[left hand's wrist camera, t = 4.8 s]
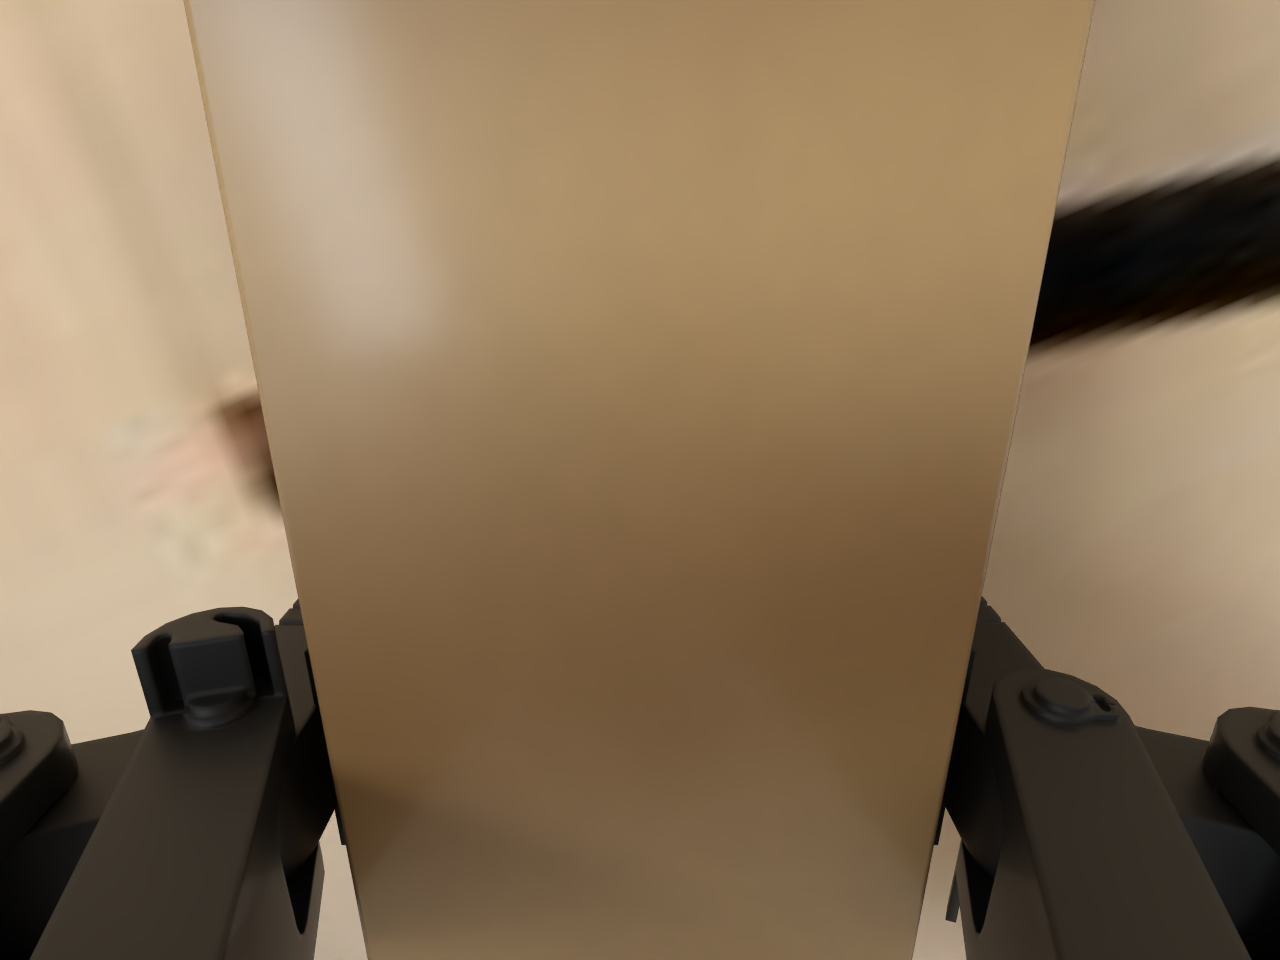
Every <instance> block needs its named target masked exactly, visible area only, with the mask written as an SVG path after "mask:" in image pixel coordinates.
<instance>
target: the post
mask: <svg viewBox="0 0 1280 960" xmlns="http://www.w3.org/2000/svg"><path fill="white" fill-rule="evenodd" d="M1094 4H1095V0H184V5H185V10H186V16H187V21H188V26H189V31H190V36H191V42H192V47H193V52H194V57H195V62H196V68H197V73H198V78H199V83H200V88H201V94H202V99H203V104H204V109H205V114H206V120H207V125H208V130H209V135H210V140H211V146H212V151H213V156H214V161H215V166H216V172H217V177H218V182H219V187H220V192H221V198H222V203H223V208H224V213H225V218H226V224H227V229H228V234H229V239H230V244H231V250H232V255H233V260H234V265H235V270H236V276H237V281H238V286H239V291H240V296H241V302H242V307H243V312H244V317H245V322H246V328H247V333H248V338H249V343H250V348H251V354H252V359H253V364H254V369H255V374H256V380H257V385H258V390H259V395H260V400H261V406H262V411H263V416H264V421H265V426H266V432H267V437H268V442H269V447H270V453H271V458H272V463H273V468H274V473H275V479H276V484H277V489H278V494H279V499H280V505H281V510H282V515H283V520H284V525H285V531H286V536H287V541H288V546H289V551H290V557H291V562H292V567H293V572H294V577H295V583H296V588H297V593H298V598H299V603H300V609H301V614H302V619H303V624H304V629H305V635H306V640H307V645H308V650H309V655H310V661H311V666H312V671H313V676H314V681H315V687H316V692H317V697H318V702H319V707H320V713H321V718H322V723H323V728H324V733H325V739H326V744H327V749H328V754H329V759H330V765H331V770H332V775H333V780H334V785H335V791H336V796H337V801H338V806H339V811H340V817H341V822H342V827H343V832H344V837H345V843H346V848H347V853H348V858H349V863H350V869H351V874H352V879H353V884H354V889H355V895H356V900H357V905H358V910H359V915H360V921H361V926H362V931H363V936H364V941H365V947H366V952H367V957H368V960H912V956H913V951H914V946H915V940H916V935H917V930H918V925H919V920H920V914H921V909H922V904H923V899H924V893H925V888H926V883H927V878H928V872H929V867H930V862H931V857H932V852H933V846H934V841H935V836H936V831H937V825H938V820H939V815H940V810H941V804H942V799H943V794H944V789H945V783H946V778H947V773H948V768H949V763H950V757H951V752H952V747H953V742H954V736H955V731H956V726H957V721H958V715H959V710H960V705H961V700H962V695H963V689H964V684H965V679H966V674H967V668H968V663H969V658H970V653H971V647H972V642H973V637H974V632H975V627H976V621H977V616H978V611H979V606H980V600H981V595H982V590H983V585H984V579H985V574H986V569H987V564H988V559H989V553H990V548H991V543H992V538H993V532H994V527H995V522H996V517H997V511H998V506H999V501H1000V496H1001V490H1002V485H1003V480H1004V475H1005V470H1006V464H1007V459H1008V454H1009V449H1010V443H1011V438H1012V433H1013V428H1014V422H1015V417H1016V412H1017V407H1018V402H1019V396H1020V391H1021V386H1022V381H1023V375H1024V370H1025V365H1026V360H1027V354H1028V349H1029V344H1030V339H1031V334H1032V328H1033V323H1034V318H1035V313H1036V307H1037V302H1038V297H1039V292H1040V286H1041V281H1042V276H1043V271H1044V266H1045V260H1046V255H1047V250H1048V245H1049V239H1050V234H1051V229H1052V224H1053V218H1054V213H1055V208H1056V203H1057V197H1058V192H1059V187H1060V182H1061V177H1062V171H1063V166H1064V161H1065V156H1066V150H1067V145H1068V140H1069V135H1070V129H1071V124H1072V119H1073V114H1074V109H1075V103H1076V98H1077V93H1078V88H1079V82H1080V77H1081V72H1082V67H1083V61H1084V56H1085V51H1086V46H1087V41H1088V35H1089V30H1090V25H1091V20H1092V14H1093V9H1094Z"/></svg>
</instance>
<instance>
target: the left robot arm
mask: <svg viewBox="0 0 1280 960" xmlns="http://www.w3.org/2000/svg"><path fill="white" fill-rule="evenodd" d="M131 652H132V655H133V658H134V662H135V665H136V669H137V672H138V675H139V679H140V682H141V686H142V689H143V692H144V696H145V699H146V703H147V706H148V709H149V713H150V716H151V718H150V720H149V722H148V724H147V726H146V728H145V729H144V730H140V731H136V732H132V733H127V734H122V735H117V736H112V737H107V738H102V739H97V740H92V741H87V742H82V743H77V744H72V745H71V743H70V740H69V737H68V734H67V732H66V729H65V726H64V723H63V721H62V720H61V719H59V718H58V717H57V716H55V715H54V714H52V713H50V712H41V711H32V710H29V711H22V712H14V713H7V714H0V960H314V952H315V944H316V936H317V928H318V921H319V913H320V905H321V897H322V889H323V881H324V873H325V872H324V865H323V858H322V853H321V848H320V843H319V840H320V838H321V836H322V834H323V832H324V830H325V828H326V826H327V824H328V822H329V820H330V818H331V816H332V814H333V812H334V810H335V814H336V819H337V824H338V829H339V834H340V839H341V845H346V843H345V837H344V832H343V827H342V822H341V817H340V811H339V806H338V801H337V796H336V791H335V785H334V780H333V775H332V770H331V765H330V759H329V754H328V749H327V744H326V739H325V733H324V728H323V723H322V718H321V713H320V707H319V702H318V697H317V692H316V687H315V681H314V676H313V671H312V666H311V661H310V655H309V650H308V645H307V640H306V635H305V629H304V624H303V619H302V614H301V609H300V603H299V598H298V600H297V601H296V602H295V603H294V604H293V609H289V610H288V611H287V612H286V614H285V615H284V616H283V617H282V618H281V619H280V621H279V625H275V626H274V623H273V618H271V617H270V616H269V615H267V614H266V613H265V612H263V611H262V610H257V609H252V608H247V607H228V608H216V609H212V610H207V611H202V612H197V613H193V614H190V615H187V616H185V617H182V618H179V619H177V620H174V621H171V622H169V623H166V624H165V625H163V626H161V627H159V628H158V629H156V630H154V631H153V632H151V633H149V634H148V635H146V636H145V637H144V638H143V639H142V640H141V641H140V642H139V643H138V644H137V645H136V646H135V647H134V648H133V649H132V650H131ZM945 807H946V809H947V811H948V813H949V815H950V817H951V819H952V821H953V823H954V825H955V827H956V829H957V830H958V832H959V834H960V836H961V843H960V848H959V853H958V857H957V862H956V867H955V872H954V877H953V881H952V886H951V891H950V896H949V901H948V906H947V913H946V920H948V921H952V922H956V919H957V914H958V910H959V906H960V911H961V919H962V927H963V934H964V942H965V950H966V958H967V960H1280V710H1270V709H1263V708H1255V707H1245V708H1236V709H1229V710H1228V711H1226V712H1225V713H1223V714H1222V715H1221V716H1219V717H1218V718H1217V721H1216V724H1215V727H1214V730H1213V733H1212V736H1211V738H1210V741H1205V740H1200V739H1195V738H1190V737H1185V736H1180V735H1175V734H1170V733H1165V732H1160V731H1155V730H1150V729H1145V728H1141V727H1138V726H1134V724H1133V722H1132V720H1131V718H1130V716H1129V715H1128V714H1127V712H1126V711H1125V710H1124V709H1123V708H1122V706H1121V705H1120V704H1119V703H1118V701H1117V700H1115V699H1114V698H1112V697H1111V696H1110V695H1108V694H1107V693H1105V692H1104V691H1102V690H1101V689H1100V688H1098V687H1097V686H1095V685H1092V684H1090V683H1088V682H1085V681H1083V680H1081V679H1079V678H1076V677H1074V676H1072V675H1068V674H1064V673H1060V672H1056V671H1051V670H1047V669H1044V668H1043V667H1042V665H1041V664H1040V663H1039V662H1038V661H1037V660H1036V658H1035V657H1034V656H1033V655H1032V654H1031V653H1030V651H1029V650H1028V649H1027V648H1026V647H1025V646H1024V644H1023V643H1022V642H1021V641H1020V640H1019V639H1018V638H1017V636H1016V635H1015V634H1014V633H1013V632H1012V631H1011V629H1010V628H1009V627H1008V626H1007V625H1006V624H1005V622H1001V618H1000V617H999V615H998V614H997V613H996V612H995V611H994V610H993V608H992V607H991V606H987V602H986V600H985V599H984V598H983V597H982V596H981V600H980V606H979V611H978V616H977V621H976V627H975V632H974V637H973V642H972V647H971V653H970V658H969V663H968V668H967V674H966V679H965V684H964V689H963V695H962V700H961V705H960V710H959V715H958V721H957V726H956V731H955V736H954V742H953V747H952V752H951V757H950V763H949V768H948V773H947V778H946V783H945V789H944V794H943V799H942V804H941V810H940V815H939V820H938V825H937V831H936V836H935V841H934V845H938V842H939V837H940V832H941V827H942V822H943V817H944V811H945Z"/></svg>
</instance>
